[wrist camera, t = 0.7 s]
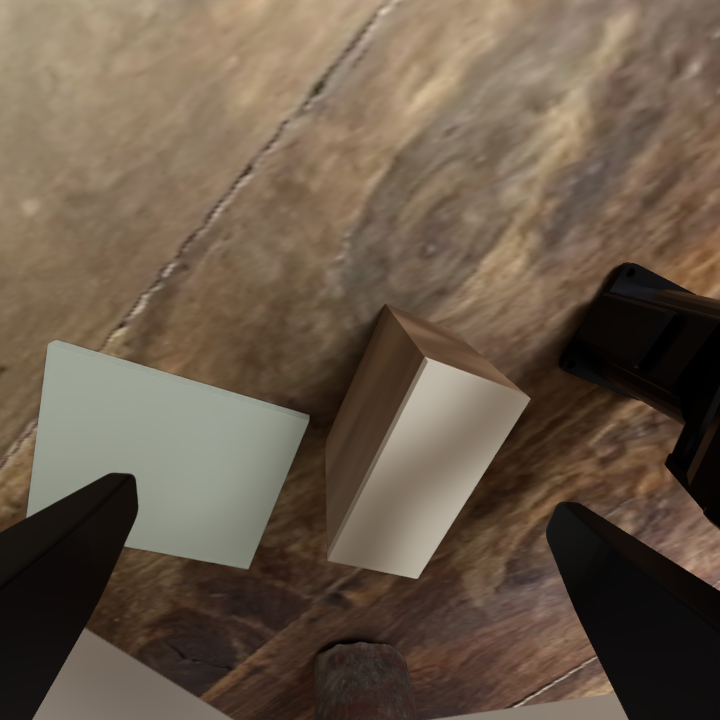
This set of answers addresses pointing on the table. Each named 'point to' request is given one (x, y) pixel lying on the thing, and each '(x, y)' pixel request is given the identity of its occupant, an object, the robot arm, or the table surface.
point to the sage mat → (164, 452)
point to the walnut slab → (411, 443)
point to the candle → (363, 684)
